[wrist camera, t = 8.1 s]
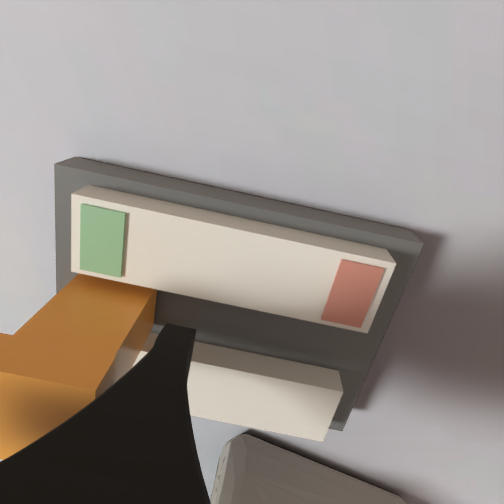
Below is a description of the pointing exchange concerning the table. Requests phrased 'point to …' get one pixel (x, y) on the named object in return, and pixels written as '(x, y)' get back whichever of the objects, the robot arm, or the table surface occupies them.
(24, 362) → the breaker handle
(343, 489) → the electrical switch
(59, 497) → the robot arm
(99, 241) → the breaker base
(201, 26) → the table surface
